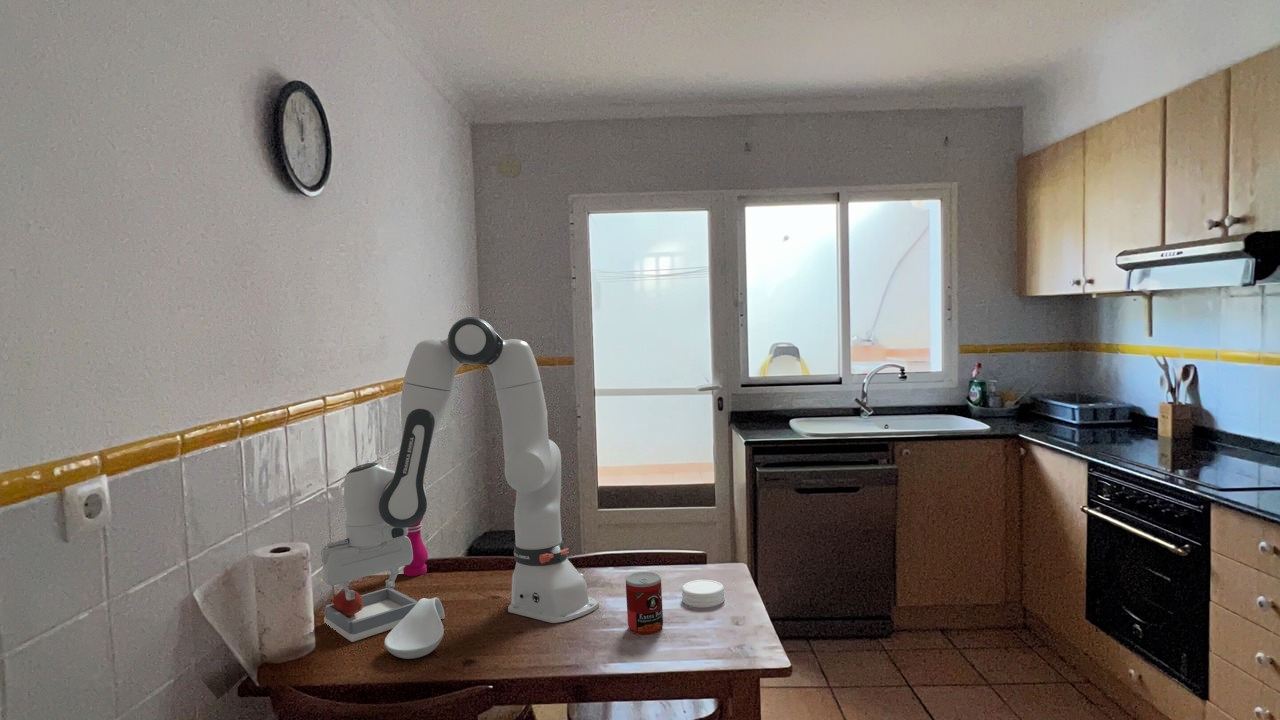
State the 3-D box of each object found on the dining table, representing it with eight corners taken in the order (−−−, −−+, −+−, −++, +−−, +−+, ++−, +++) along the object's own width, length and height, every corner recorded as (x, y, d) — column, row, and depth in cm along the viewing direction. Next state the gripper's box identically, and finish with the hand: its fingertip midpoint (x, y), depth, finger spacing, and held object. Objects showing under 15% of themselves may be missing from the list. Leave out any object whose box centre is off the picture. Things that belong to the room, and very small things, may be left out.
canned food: (638, 638, 151) (635, 586, 150) (621, 625, 158) (619, 576, 157) (670, 630, 154) (667, 579, 154) (652, 617, 161) (650, 569, 161)
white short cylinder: (706, 590, 177) (706, 576, 177) (733, 601, 169) (732, 586, 169) (673, 600, 172) (673, 585, 172) (699, 612, 163) (699, 597, 163)
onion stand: (420, 619, 167) (419, 602, 167) (352, 642, 156) (350, 623, 156) (390, 603, 179) (389, 587, 178) (324, 623, 168) (323, 606, 167)
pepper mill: (432, 568, 204) (428, 498, 204) (422, 577, 197) (418, 504, 197) (408, 568, 205) (404, 499, 204) (397, 577, 198) (392, 505, 197)
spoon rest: (438, 664, 144) (436, 628, 144) (378, 669, 143) (375, 633, 143) (459, 618, 167) (457, 587, 167) (407, 621, 167) (406, 591, 166)
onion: (366, 614, 170) (335, 604, 171) (372, 591, 169) (341, 581, 170) (353, 624, 164) (321, 614, 165) (359, 600, 164) (327, 590, 165)
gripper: (326, 547, 157) (330, 609, 158) (414, 526, 171) (417, 584, 172) (315, 542, 162) (319, 603, 162) (402, 522, 176) (405, 578, 176)
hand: (370, 593), depth 167 cm, fingers open, 8 cm apart
